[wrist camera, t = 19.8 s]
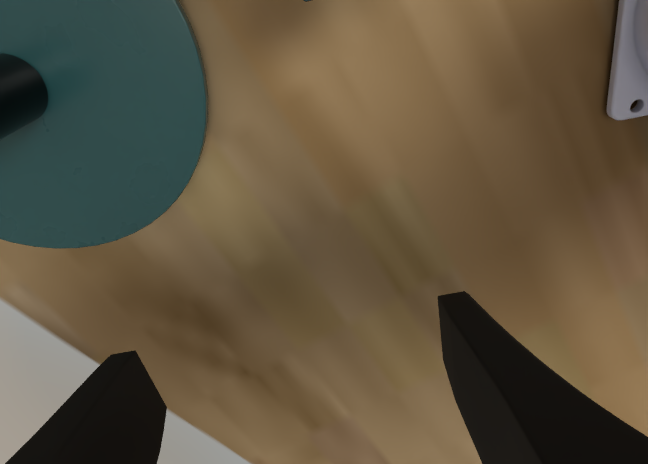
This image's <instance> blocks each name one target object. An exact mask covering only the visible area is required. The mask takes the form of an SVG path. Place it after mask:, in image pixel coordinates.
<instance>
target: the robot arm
mask: <svg viewBox="0 0 648 464" xmlns="http://www.w3.org/2000/svg"><path fill="white" fill-rule="evenodd" d="M635 100H637V105H636V106H635V107H634V108H633V109H631V110H630V106H631V104H632V103H633V102H634V101H635ZM606 109H607V114H608V116H609V117H611V118H613V119H615V120H626V119H631V118H636V117H641V116H646V115H648V0H619V6H618V15H617V23H616V32H615V40H614V49H613V57H612V66H611V74H610V83H609V91H608V100H607V108H606ZM438 306H439V318H440V329H441V341H442V352H443V361H444V364H445V368H446V371H447V374H448V378H449V381H450V384H451V387H452V391H453V394H454V397H455V400H456V403H457V405H458V408H459V410H460V412H461V415H462V417H463V419H464V422H465V424H466V426H467V429H468V431H469V433H470V436H471V438H472V440H473V443H474V445H475V447H476V450H477V452H478V454H479V457H480V459H481V461H482V464H648V437H647V436H645V435H644V434H642V433H641V432H639V431H638V430H636V429H634V428H633V427H631V426H630V425H628V424H627V423H625V422H623V421H622V420H620V419H619V418H617V417H616V416H614V415H613V414H612V413H610V412H609V411H607V410H606V409H604V408H603V407H601V406H600V405H598V404H597V403H595V402H594V401H593V400H591V399H590V398H588V397H587V396H586V395H584V394H583V393H582V392H580V391H579V390H578V389H576V388H575V387H573V386H572V385H571V384H570V383H568V382H567V381H566V380H564V379H563V378H562V377H560V376H559V375H558V374H557V373H555V372H554V371H553V370H551V369H550V368H549V367H548V366H547V365H545V364H544V363H543V362H542V361H540V360H539V359H538V358H537V357H536V356H534V355H533V354H532V353H531V352H530V351H529V350H528V349H526V348H525V347H524V346H523V345H522V344H521V343H519V342H518V341H517V340H516V339H515V338H514V337H513V336H511V335H510V334H509V333H508V332H507V331H506V330H505V329H504V328H503V327H502V326H501V325H500V324H498V323H497V322H496V321H495V320H494V319H493V318H492V317H491V316H490V315H489V314H488V313H487V312H486V311H485V310H484V309H483V308H482V307H481V306H480V305H479V304H478V303H477V302H476V301H475V300H474V299H473V298H472V297H471V296H470V295H469V294H468V293H466V292H465V291H463V292H457V293H452V294H446V295H441V296H438ZM166 409H167V407H166V405H165V403H164V401H163V400H162V398H161V396H160V394H159V392H158V390H157V389H156V387H155V385H154V383H153V381H152V380H151V378H150V376H149V374H148V372H147V371H146V369H145V367H144V365H143V363H142V362H141V360H140V358H139V356H138V354H137V352H136V351H129V352H124V353H118V354H113V355H110V356H109V357H108V358H107V359H106V360H105V361H104V362H103V363H102V364H101V365H100V366H99V367H98V368H97V369H96V370H95V371H94V372H93V373H92V374H91V375H90V376H89V377H88V378H87V380H86V381H85V382H84V383H83V384H82V385H81V386H80V387H79V388H78V389H77V390H76V391H75V392H74V393H73V394H72V395H71V397H70V398H69V399H68V400H67V401H66V402H65V403H64V404H63V405H62V406H61V407H60V408H59V409H58V410H57V411H56V413H54V415H53V416H52V417H51V418H50V419H49V420H48V421H47V422H46V423H45V424H44V425H43V426H42V427H41V428H40V429H39V430H38V431H37V432H36V434H35V435H34V436H33V437H32V438H31V439H30V440H29V441H28V442H27V443H25V444H24V445H23V446H22V447H21V448H20V450H18V451H17V452H16V453H15V455H14V456H13V457H11V458H10V459H9V460H8V461H7V462H6V463H5V464H157V460H158V456H159V453H160V448H161V442H162V437H163V431H164V423H165V417H166Z"/></svg>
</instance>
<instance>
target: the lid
mask: <svg viewBox="0 0 648 464" xmlns="http://www.w3.org/2000/svg"><path fill="white" fill-rule="evenodd" d="M207 123H208V91H207V83H206V74H205V69H204V65H203V61H202V57H201V53H200V49H199V46H198V43H197V40H196V38H195V35H194V32H193V30H192V27H191V24H190V22H189V20H188V18H187V16H186V14H185V12H184V10H183V8H182V6H181V4H180V2H179V0H0V239H2V240H6V241H9V242H13V243H18V244H24V245H29V246H34V247H46V248H80V247H88V246H95V245H100V244H104V243H108V242H111V241H115V240H118V239H121V238H123V237H125V236H128V235H130V234H133V233H135V232H137V231H138V230H140V229H142V228H144V227H145V226H147V225H149V224H150V223H152V222H153V221H154V220H156V219H157V218H158V217H159V216H161V215H162V214H163V213H164V212H165V211H166V210H167V209H168V208H169V207H170V206H171V205H172V204H173V203H174V202H175V201H176V200H177V199H178V197H179V196H180V194H181V193H182V191H183V190H184V188H185V187H186V185H187V184H188V182H189V181H190V179H191V177H192V174H193V172H194V170H195V168H196V166H197V164H198V162H199V159H200V156H201V152H202V149H203V146H204V142H205V137H206V130H207Z"/></svg>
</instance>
